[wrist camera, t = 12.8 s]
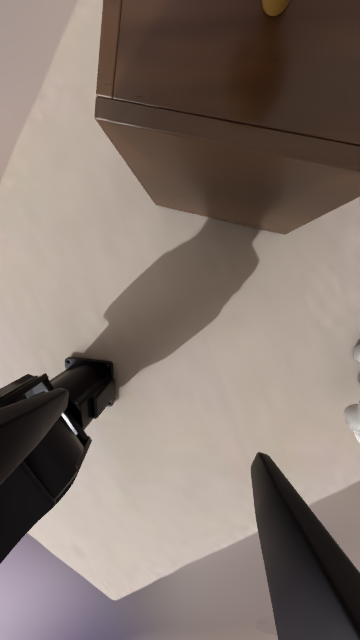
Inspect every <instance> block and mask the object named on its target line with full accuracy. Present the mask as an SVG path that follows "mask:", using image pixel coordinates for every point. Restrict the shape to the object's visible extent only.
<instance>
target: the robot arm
mask: <svg viewBox="0 0 360 640" xmlns="http://www.w3.org/2000/svg"><path fill="white" fill-rule="evenodd" d="M107 364H108V365H109V366H108V365H107ZM65 366H66V370H65V371H64V372H62V373H61V374H59V375H58V376H56V377H55V378H53V379H51V380H50V381H49V379H48V376H47V374H46V373H45V374H43V375H41V376H39V377H38V376H32V375H29V374H27V375H25V376H23V377H21V378H20V379H18V380H16V381H14V382H12V383H10V384H8V385H6V386H5V387H3V388H1V389H0V563H1V562H2V561H3V560H4V559H5V557H6V556H7V555H8V554H9V552H10V551H11V550H12V549H13V548H14V547H15V545H16V544H17V543H18V542H19V541H20V540H21V538H22V537H23V536H24V535H25V534H26V533H27V532H28V531H29V530H30V529H31V528H32V527H33V526H34V525H35V524H36V523H37V522H38V520H40V519H41V518H42V517H43V516H44V515H45V514H46V513H47V512H49V511H50V510H51V509H52V508H53V507H54V506H55V505H56V504H57V503H58V502H59V500H60V499H61V498H62V497H63V496H64V495H65V493H66V492H67V491H68V490H69V488H70V487H71V485H72V484H73V482H74V480H75V478H76V476H77V474H78V472H79V469H80V467H81V465H82V462H83V460H84V458H85V455H86V453H87V451H88V448H89V446H90V444H91V441H92V440H91V438H90V437H89V436H87V435H86V433H85V432H84V429H85V428H86V427H87V426H88V424H89V423H90V422H91V421H92V419H93V418H94V419H96V418H97V417H99V415H100V414H101V413H102V411H103V410H104V409H105V407H106V406H112V405H113V404H114V396H115V382H114V378H113V364H112V363H111V362H110V361H102V360H93V359H85V358H76V357H68V358H66V359H65ZM110 402H111V403H110ZM251 478H252V487H253V496H254V506H255V514H256V522H257V527H258V533H259V538H260V544H261V549H262V554H263V560H264V565H265V570H266V576H267V581H268V586H269V592H270V597H271V602H272V608H273V613H274V619H275V624H276V629H277V635H278V640H360V573H359V571H358V570H357V569H356V567H355V566H354V565H353V563H352V562H351V561H350V560H349V558H348V557H347V556H346V554H345V553H344V552H343V550H342V549H341V548H340V547H339V545H338V544H337V543H336V542H335V540H334V539H333V538H332V536H331V535H330V534H329V532H328V531H327V530H326V529H325V527H324V526H323V525H322V523H321V522H320V521H319V520H318V519H317V517H316V516H315V514H314V513H313V512H312V511H311V509H310V508H309V507H308V505H307V504H306V503H305V501H304V500H303V499H302V498H301V496H300V495H299V494H298V492H297V491H296V490H295V489H294V487H293V486H292V485H291V483H290V482H289V481H288V480H287V478H286V477H285V476H284V474H283V473H282V472H281V471H280V469H279V468H278V467H277V465H276V464H275V463H274V462H273V460H272V459H271V458H270V456H268V455H267V454H264V453H261V452H258V453H257V455H256V457H255V459H254V461H253V463H252V465H251Z"/></svg>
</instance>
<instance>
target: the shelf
mask: <svg viewBox="0 0 360 640" xmlns="http://www.w3.org/2000/svg"><path fill="white" fill-rule="evenodd" d="M96 94H97V97H96V104H95V119H96V121H97V122H98V124H99V125H100V126H101V128H102V129H103V131H104V132H105V134H106V135H107V136H108V138H109V139H110V141H111V142H112V144H113V145H114V146H115V148H116V149H117V151H118V152H119V153H120V155H121V156H122V158H123V159H124V161H125V162H126V163H127V165H128V166H129V168H130V169H131V171H132V172H133V173H134V175H135V176H136V178H137V179H138V180H139V182H140V183H141V185H142V186H143V188H144V189H145V190H146V192H147V193H148V195H149V196H150V198H151V199H152V200H153V202H154V203H155V205H159V206H163V207H167V208H172V209H176V210H180V211H185V212H189V213H193V214H198V215H202V216H206V217H211V218H215V219H220V220H224V221H228V222H233V223H237V224H241V225H246V226H250V227H254V228H259V229H263V230H267V231H272V232H276V233H280V234H287V233H289V232H291V231H293V230H295V229H297V228H299V227H301V226H303V225H305V224H306V223H308V222H310V221H312V220H314V219H316V218H318V217H320V216H322V215H324V214H326V213H328V212H330V211H332V210H334V209H336V208H338V207H340V206H342V205H344V204H346V203H348V202H350V201H352V200H354V199H356V198H358V197H360V0H103V11H102V24H101V38H100V51H99V64H98V77H97V90H96Z"/></svg>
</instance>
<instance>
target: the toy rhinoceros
mask: <svg viewBox="0 0 360 640" xmlns="http://www.w3.org/2000/svg"><path fill="white" fill-rule="evenodd" d="M353 356H354V358H355V360H356V361H358V362H359V363H360V343H359V344H358V345H356V346H355V348H354V351H353ZM344 419H345V421H346V423H347V425H348V426H349V427H350V428H351V429H352V430H353V432H354V434H355V437H356V438H357V440H358V441H359V442H360V402H359V404H353V405H350V406H348V407H347V408H346V409H345V410H344Z"/></svg>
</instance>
